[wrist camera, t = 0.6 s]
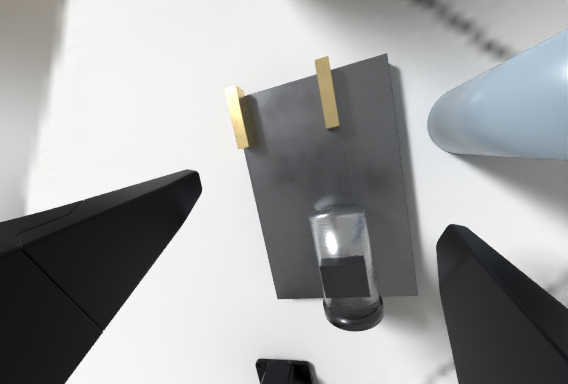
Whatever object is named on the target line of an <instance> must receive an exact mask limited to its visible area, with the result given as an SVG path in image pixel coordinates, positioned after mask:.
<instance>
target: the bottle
mask: <svg viewBox="0 0 568 384" xmlns="http://www.w3.org/2000/svg"><path fill="white" fill-rule="evenodd" d="M427 125H428V132H429V135H430V137H431V139H432V141H433V142H434V143H435V144H436V145H437V146H438V147H439V148H441V149H443V150H444V151H447V152H450V153H456V154H471V155H488V156H505V157H521V158H538V159H554V160H568V29H567V30H565V31H563V32H561V33H559V34H557V35H555V36H553V37H551V38H550V39H548V40H546V41H544V42H542V43H540V44H538V45H536V46H534V47H532V48H530V49H528V50H527V51H525V52H523V53H521V54H519V55H517V56H515V57H513V58H511V59H509V60H507V61H505V62H504V63H502V64H500V65H498V66H496V67H494V68H492V69H490V70H488V71H486V72H484V73H482V74H481V75H479V76H477V77H475V78H473V79H471V80H469V81H467V82H465V83H463V84H461V85H460V86H458V87H456V88H454V89H452V90H450V91H448V92H447V93H445V94H444V95H443V96H441V97H440V98H439V99H438V100H437V102H436V103H435V104H434V106H433V107H432V109H431V111H430V114H429V117H428V123H427Z"/></svg>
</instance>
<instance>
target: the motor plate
mask: <svg viewBox="0 0 568 384" xmlns="http://www.w3.org/2000/svg"><path fill="white" fill-rule="evenodd" d="M315 66H316V72H317V74H316V75H313V76H310V77H306V78H303V79H300V80H296V81H293V82H290V83H287V84H283V85H280V86H277V87H273V88H270V89H267V90H263V91H260V92H257V93H253V94H250V95H247V96H244V91H243V90H242V89H240V88H238V87H237V86H233V87H230V88H227V89H225V93H226V98H227V102H228V106H229V111H230V115H231V120H232V124H233V128H234V133H235V137H236V141H237V146H238V149H244V152H245V157H246V161H247V166H248V170H249V174H250V179H251V183H252V188H253V192H254V197H255V201H256V205H257V210H258V214H259V219H260V223H261V228H262V232H263V236H264V241H265V245H266V250H267V254H268V259H269V263H270V267H271V272H272V276H273V281H274V285H275V290H276V294H277V298H278V299H301V298H324V300H323V306H324V311H325V315H326V318H327V319H328V321H329V322H330V323H331V324H333V325H334V326H336V327H338V328H340V329H343V330H346V331H364V330H368V329H371V328H373V327H375V326H376V325H377V324H379V323H380V321H381V320H382V318H383V316H384V308H383V302H382V298H381V296H417V295H418V292H417V285H416V277H415V269H414V261H413V253H412V245H411V238H410V230H409V222H408V214H407V206H406V198H405V191H404V183H403V175H402V167H401V159H400V151H399V144H398V136H397V128H396V120H395V112H394V104H393V96H392V89H391V81H390V73H389V65H388V57H387V53H386V54H383V55H379V56H376V57H373V58H369V59H366V60H363V61H359V62H356V63H353V64H350V65H346V66H343V67H340V68H336V69H333V70H330V64H329V58H328V56H327V57H323V58H320V59H317V60H315Z"/></svg>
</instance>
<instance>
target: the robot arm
mask: <svg viewBox="0 0 568 384" xmlns="http://www.w3.org/2000/svg"><path fill="white" fill-rule="evenodd" d="M201 192H202V186H201V181H200V177H199V173H198V172H197V171H194V170H183V171H180V172H177V173H173V174H170V175H166V176H163V177H160V178H156V179H153V180H149V181H146V182H143V183H139V184H136V185H132V186H129V187H126V188H122V189H119V190H116V191H112V192H109V193H105V194H102V195H99V196H95V197H92V198H88V199H85V200H84V201H83V200H81V201H78V202H75V203H71V204H68V205H64V206H61V207H57V208H54V209H50V210H46V211H43V212H39V213H35V214H31V215H27V216H23V217H20V218H16V219H12V220H8V221H4V222H0V384H65V383H66V381H67V380H68V378H69V377H70V376H71V374H72V373H73V372H74V370H75V369H76V368H77V366H78V365H79V364H80V362H81V361H82V360H83V358H84V357H85V356H86V354H87V353H88V352H89V350H90V349H91V348H92V346H93V345H94V343H95V342H96V341H97V339H98V338H99V337H100V335H101V334H102V333H103V330H105V328H106V327H107V326H108V324H109V323H110V322H111V320H112V319H113V318H114V316H115V315H116V314H117V312H118V311H119V310H120V308H121V307H122V306H123V304H124V303H125V302H126V300H127V299H128V297H129V296H130V295H131V293H132V292H133V291H134V289H135V288H136V287H137V285H138V284H139V283H140V281H141V280H142V279H143V277H144V276H145V275H146V273H147V272H148V271H149V269H150V268H151V267H152V265H153V264H154V263H155V261H156V260H157V258H158V257H159V256H160V254H161V253H162V252H163V250H164V249H165V248H166V246H167V245H168V244H169V242H170V241H171V240H172V238H173V237H174V236H175V234H176V233H177V232H178V230H179V229H180V228H181V226H182V225H183V223H184V222H185V220H186V218H187V217H188V215H189V213H190V212H191V210H192V208H193V207H194V205H195V203H196V202H197V200H198V198H199V197H200V195H201ZM436 251H437V264H438V278H439V289H440V295H441V301H442V306H443V310H444V315H445V320H446V325H447V330H448V335H449V340H450V344H451V349H452V354H453V359H454V364H455V369H456V374H457V378H458V383H459V384H568V308H566V307H565V306H564V305H563V304H561V303H560V302H559V301H558V300H556V299H555V298H554V297H553V296H551V295H550V294H549V293H548V292H546V291H545V290H544V289H543V288H541V287H540V286H539V285H538V284H537V283H535V282H534V281H533V280H532V279H530V278H529V277H528V276H527V275H525V274H524V273H523V272H522V271H520V270H519V269H518V268H517V267H515V266H514V265H513V264H512V263H510V262H509V261H508V260H507V259H505V258H504V257H503V256H502V255H500V254H499V253H498V252H497V251H496V250H494V249H493V248H492V247H491V246H489V245H488V244H487V243H486V242H484V241H483V240H482V239H481V238H479V237H478V236H477V235H476V234H474V233H473V232H472V231H471V230H469V229H468V228H467V227H465V226H460V225H456V224H450V225H448V226H447V228H446V229H445V231H444V232H443V234H442V235H441V237H440V238H439V240H438V242H437V245H436ZM256 369H257V373H258V377H259V381H260V384H313V379H312V374H311V369H310V365H309V363H307V362H305V361H287V360H268V359H258V360H257V362H256Z"/></svg>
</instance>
